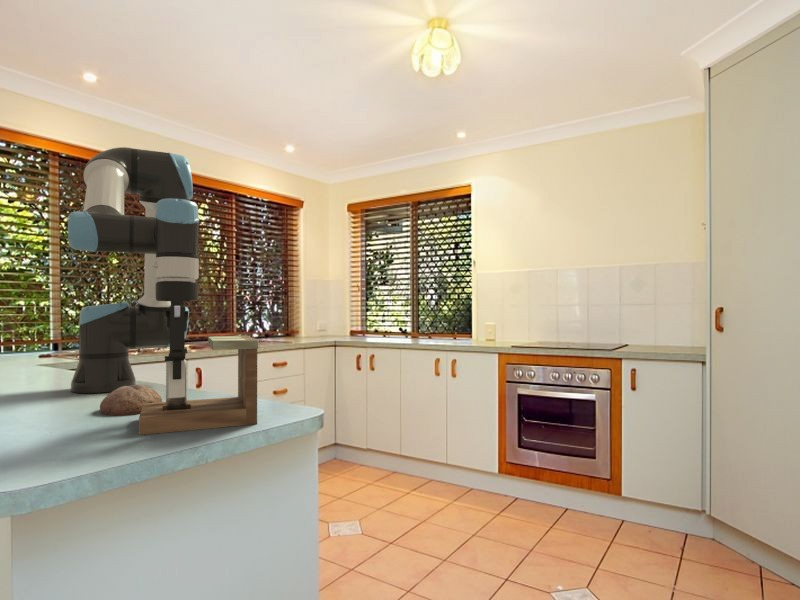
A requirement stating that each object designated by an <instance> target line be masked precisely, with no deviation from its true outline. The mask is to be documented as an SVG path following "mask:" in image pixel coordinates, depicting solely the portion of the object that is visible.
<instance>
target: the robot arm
mask: <svg viewBox="0 0 800 600" xmlns="http://www.w3.org/2000/svg"><path fill="white" fill-rule="evenodd" d="M191 169H192V168H191V165H190V162H189V159H188V158H187V157H186V156H184V155H180V154H176V153H172V152H164V151H156V150H149V149H139V148H133V147H125V146H123V147H113V148H109V149H106V150H103V151H101V152H98V153H97V154H96V155H94V156H93V157H91V158H90V159H89V160H88V162H87V163H86V164H85V166H84V170H83V180H84V181H83V182H84V183H85V185H86V189H85V197H84V204H83V210H82V211H71V212H70V213H69V214H68V218H67V237H68V245H69V248H71V249H73V250H76V251H83V252H84V251H86V252H87V251H88V252H91V253H95V252H100V253H102V252H103V253H105V252H107V253H128V254H129V253H131V254H144V278H143V279H144V284H143V286H144V288H143V290H144V291H143V293H144V294H143V296H141V297H140V298H139V299H138V300H137V306H130V304H129V302H127V301H124V302H116V303H115V302H114V303H107V304H98V305H88V306H84V307H83V308H82V309H81V310H80V311H79V320H78V325H77V326H78V327H79V330H78V331H79V338H78V341H79V342H78V346H79V347H78V351H79V352H78V364H77V365H76V369H75V371H74V374H73V377H72V379H71V382H70V392H72V393H76V394H99V393H100V394H101V393H111V392H113V391H114V390H116V389H118V388H120V387H123V386H132V385H137V384H136V377H135V374H134V372H133V367H132V365H131V361H130V360H129V359H130V358H129V352H130V350H134V349H135V350H137V349H138V350H140V349H144V350H145V349H169V353H168V355H166V356H164V362H166V361H169V395H168V398H179V397H185V360H186V354H188V348H187V347H185V343H186V342H185V341H186V337H187V333H188V326H189V316H190V309H189V308H188V307H187V306H185V304H184V303H185V302H197V300H199V283H198V282H196V280H198V279H199V270H200V269H199V267H200V266H199V264H200V261H199V260H200V259H199V223H200V218H199V206H198V205H197V203H195V202H194V201H191V200H192V199H193V197H194V194H193V193H194V191H193V190H194V187H193V186H194V185H193V177H192V171H191ZM125 194H132V195H139V198H138V200H139V201H138V202H139V203H140V204H141V205H142V206H143V207H144V209H145V213H144V214H145V216H140V215H129V214H128V215H127V214H125Z"/></svg>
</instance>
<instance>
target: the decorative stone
mask: <svg viewBox="0 0 800 600" xmlns="http://www.w3.org/2000/svg"><path fill="white" fill-rule="evenodd" d="M159 402H163V399H162V397H161V395H160V394H159V393H158V392H157V391H156V390H155V389H152V388H150V387H148V386H147V385H142V384H136V385H132V386H123V387H120V388H118V389H116V390H114V391H113V392H109V393H108V394H107V395H106V396H105V397H104V398H103V399H102V401H101V402H100V405H99V411H100V413H101V414H102V415H106V416H107V415H109V416H131V415H134V416H135V415H140V413H141V410H142V407H143V404H144V403H159Z"/></svg>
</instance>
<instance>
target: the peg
mask: <svg viewBox="0 0 800 600" xmlns="http://www.w3.org/2000/svg"><path fill="white" fill-rule="evenodd" d="M184 360H185V397H179V398H168V395H169V361H166V363H165V365H166V366H165V371H166V373H165V402H166V411H169V410H182V409H187V399H188V398H187V394H188V392H187V391H188V390H187V389H188V387H187V386H188V385H187V382H188V380H187V379H188V378H187V375H188V374H187V373H188V372H187V369H188V367H187V366H188V363H187V361H188V360H187V359H184Z"/></svg>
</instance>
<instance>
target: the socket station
mask: <svg viewBox="0 0 800 600" xmlns="http://www.w3.org/2000/svg"><path fill="white" fill-rule="evenodd" d="M207 345H208V346H209V347H210V349H212V350H213V351H227V350H237V378H238V379H237V396H233V397H232V396H231V397H230V396H229V397H217V398H207V399H206V398H205V399H204V398H202V399H192V400H191V399H190V400H187V409H182V410H169V411H166V401H162V402H159V403H144V404H143V407H142V410H141V413H140V414H139V417H138V435H139V436H140V435H153V434H163V433H174V432H175V433H176V432H185V431H186V432H187V431H196V430H205V429H218V428H227V427H228V428H230V427H238V426H249V425H250V426H251V425H257V424H258V349H259V340H258V339H256V338H254V337H251V336H250V335H227V336H226V335H219V336H217V335H215V336H213V335H212V336H211V335H210V336H207Z"/></svg>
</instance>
